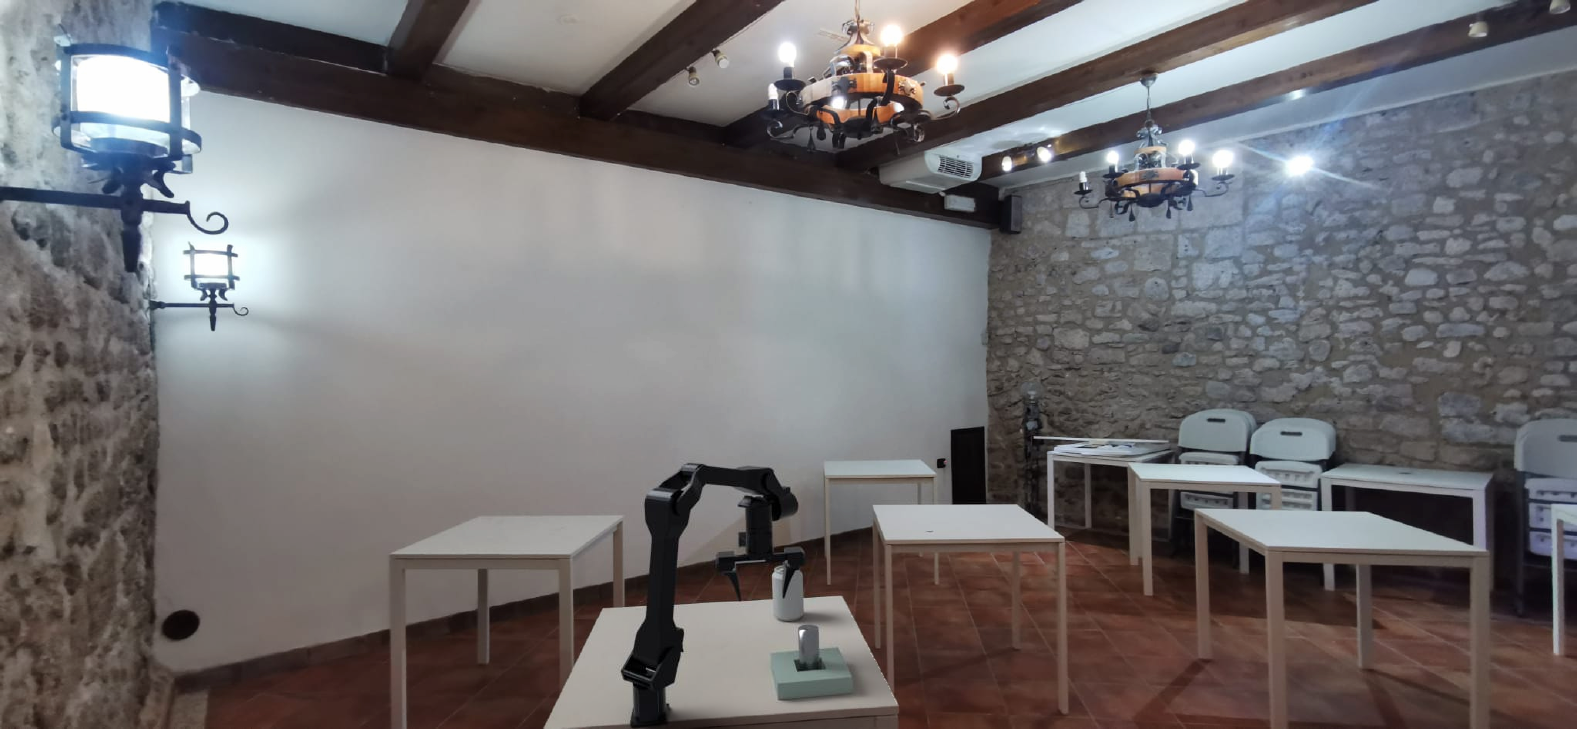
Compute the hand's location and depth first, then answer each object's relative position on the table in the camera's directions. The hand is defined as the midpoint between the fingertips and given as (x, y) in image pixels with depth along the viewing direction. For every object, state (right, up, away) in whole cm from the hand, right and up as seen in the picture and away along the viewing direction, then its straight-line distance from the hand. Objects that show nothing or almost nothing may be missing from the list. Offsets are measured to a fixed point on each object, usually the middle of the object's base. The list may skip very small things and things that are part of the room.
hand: (761, 599), depth 150 cm
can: (+6, -12, +23) cm, 26 cm away
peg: (+10, -12, -12) cm, 19 cm away
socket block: (+10, -12, -12) cm, 19 cm away
